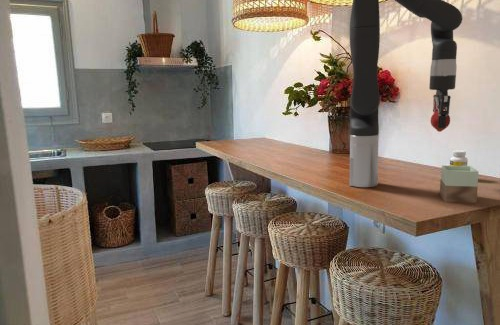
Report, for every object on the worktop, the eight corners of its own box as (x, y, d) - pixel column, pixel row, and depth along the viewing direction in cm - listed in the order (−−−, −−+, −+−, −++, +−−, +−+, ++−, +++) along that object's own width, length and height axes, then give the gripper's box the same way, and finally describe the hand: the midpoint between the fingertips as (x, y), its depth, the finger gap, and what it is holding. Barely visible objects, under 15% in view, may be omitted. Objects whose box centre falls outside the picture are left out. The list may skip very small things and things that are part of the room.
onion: (432, 130, 134) (434, 106, 133) (451, 131, 130) (452, 106, 129) (427, 132, 130) (429, 107, 128) (446, 133, 126) (448, 107, 125)
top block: (445, 185, 112) (446, 171, 111) (441, 179, 119) (441, 165, 119) (477, 186, 109) (478, 171, 109) (470, 180, 117) (471, 166, 116)
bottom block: (445, 202, 113) (446, 185, 112) (439, 195, 120) (440, 179, 119) (476, 203, 111) (477, 186, 110) (468, 196, 118) (469, 179, 117)
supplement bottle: (445, 178, 140) (447, 150, 138) (456, 176, 142) (458, 149, 140) (458, 181, 135) (460, 152, 133) (470, 179, 137) (471, 151, 135)
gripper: (426, 75, 134) (423, 124, 137) (434, 74, 121) (431, 129, 124) (450, 74, 132) (447, 124, 136) (461, 73, 119) (457, 129, 122)
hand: (439, 126), depth 130 cm, fingers closed on onion, 6 cm apart
